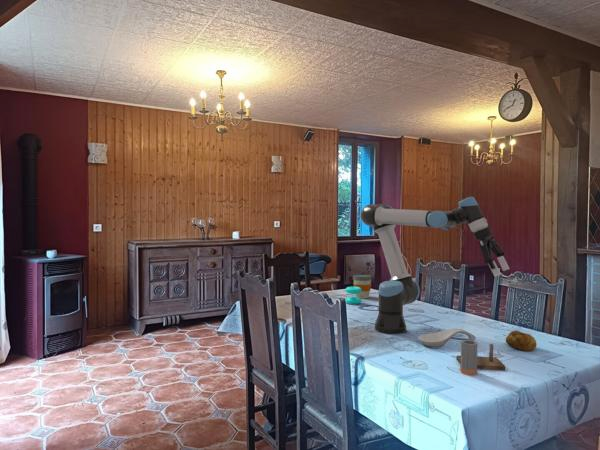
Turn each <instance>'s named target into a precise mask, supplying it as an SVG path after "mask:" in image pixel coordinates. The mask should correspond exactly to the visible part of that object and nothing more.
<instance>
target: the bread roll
mask: <svg viewBox="0 0 600 450" xmlns="http://www.w3.org/2000/svg"><path fill="white" fill-rule="evenodd" d="M505 342H506V344H507V345H509V347H512V348H513V349H515V350H518V351H522V352H530V351H533V350H535V349H536V348H537V340H536V339H535V337H534V336H533V335H532V334H530V333H526V332H522V331H520V330H512V331H510V332H509V333H508V334H507V336H506V337H505Z"/></svg>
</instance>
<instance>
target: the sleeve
mask: <svg viewBox="0 0 600 450" xmlns="http://www.w3.org/2000/svg"><path fill="white" fill-rule="evenodd" d="M460 356H461V365H460V364H459V365H460V366H459V368H460V369H459V371H460V373H461V374H463V375H466V376H476V375H478V369H477V356H478V343H477V341H476V340H475V341H471V340H469V339H468V340H467V339H464V340H461V341H460Z"/></svg>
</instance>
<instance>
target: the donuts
mask: <svg viewBox="0 0 600 450" xmlns="http://www.w3.org/2000/svg"><path fill="white" fill-rule="evenodd" d="M345 292H346V293H348V294H350V295H351V294H352V295H355V294H358V293H360V292H361V288H359V287H354V286H347V287H346V288H345ZM345 302H347V303H346V304H348V305H359V304H361V303H362V299H361V298H358V297H356V296H348V297H346V298H345Z"/></svg>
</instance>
